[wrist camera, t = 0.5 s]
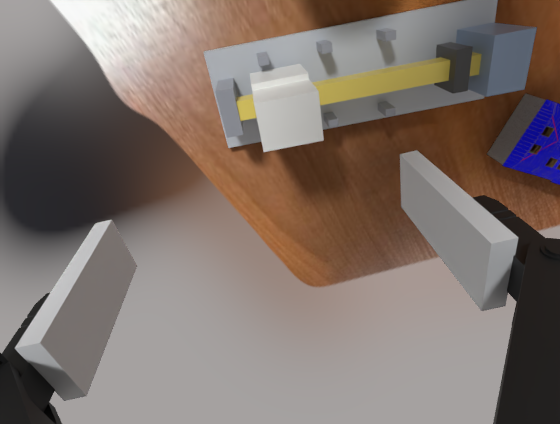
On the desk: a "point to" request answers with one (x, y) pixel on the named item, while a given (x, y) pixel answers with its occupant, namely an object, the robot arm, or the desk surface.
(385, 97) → the comb rig
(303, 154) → the desk surface
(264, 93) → the sleeve
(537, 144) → the house
